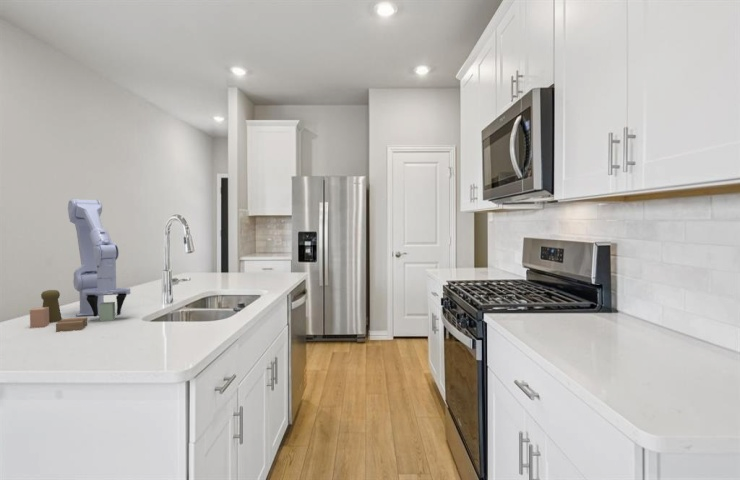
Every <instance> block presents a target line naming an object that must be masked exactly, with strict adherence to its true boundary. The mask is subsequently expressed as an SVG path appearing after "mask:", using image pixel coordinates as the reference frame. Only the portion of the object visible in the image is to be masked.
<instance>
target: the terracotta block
mask: <svg viewBox="0 0 740 480" xmlns="http://www.w3.org/2000/svg"><path fill="white" fill-rule="evenodd" d="M29 324H30V325H29V328H30V329H36V328H37V329H38V328H46V327H48V326H49V325H50V323H49V307H43V306H41V307H34V308H31V309H29Z"/></svg>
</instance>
